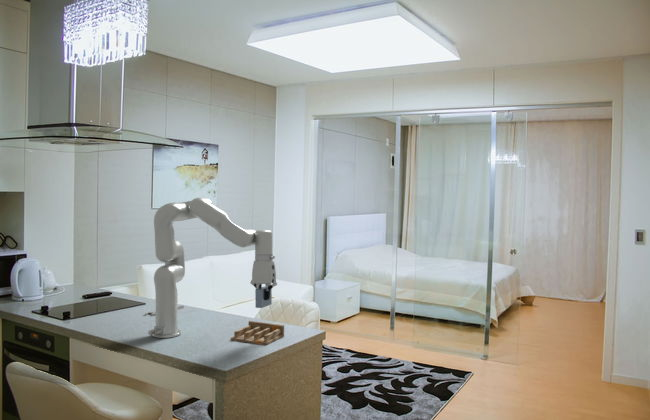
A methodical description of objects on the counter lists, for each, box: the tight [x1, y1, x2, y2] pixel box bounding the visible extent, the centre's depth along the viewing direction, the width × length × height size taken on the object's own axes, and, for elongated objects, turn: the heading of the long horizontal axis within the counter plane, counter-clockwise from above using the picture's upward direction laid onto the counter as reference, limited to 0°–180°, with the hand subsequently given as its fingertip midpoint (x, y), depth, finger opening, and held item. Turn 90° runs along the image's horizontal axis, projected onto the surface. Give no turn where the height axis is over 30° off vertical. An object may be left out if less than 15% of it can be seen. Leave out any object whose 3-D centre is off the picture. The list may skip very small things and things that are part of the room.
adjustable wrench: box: [144, 305, 185, 317], centre depth 278 cm, size 25×6×2 cm, turn 144°
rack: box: [230, 320, 285, 346], centre depth 228 cm, size 16×18×5 cm
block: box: [254, 286, 273, 309], centre depth 227 cm, size 9×3×8 cm, turn 157°
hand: (263, 298), depth 227 cm, fingers closed on block, 2 cm apart
